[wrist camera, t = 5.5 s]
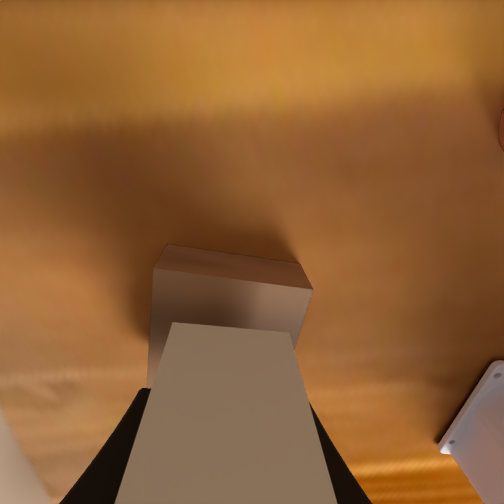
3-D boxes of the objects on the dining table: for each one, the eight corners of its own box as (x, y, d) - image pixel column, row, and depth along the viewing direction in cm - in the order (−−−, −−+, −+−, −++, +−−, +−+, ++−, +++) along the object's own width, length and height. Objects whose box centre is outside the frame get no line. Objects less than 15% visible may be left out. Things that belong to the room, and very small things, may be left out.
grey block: (268, 410, 13) (292, 598, 7) (168, 405, 12) (120, 603, 7) (289, 332, 11) (338, 507, 6) (172, 322, 10) (114, 505, 5)
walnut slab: (271, 357, 18) (278, 398, 15) (160, 346, 17) (146, 388, 14) (298, 260, 15) (313, 289, 12) (168, 241, 14) (153, 268, 11)
